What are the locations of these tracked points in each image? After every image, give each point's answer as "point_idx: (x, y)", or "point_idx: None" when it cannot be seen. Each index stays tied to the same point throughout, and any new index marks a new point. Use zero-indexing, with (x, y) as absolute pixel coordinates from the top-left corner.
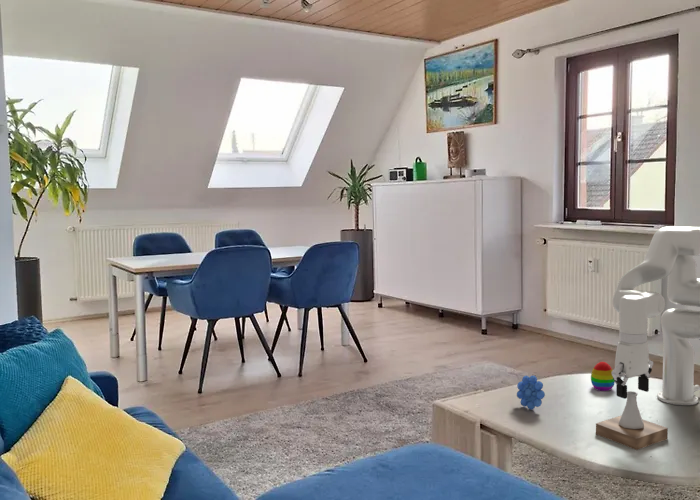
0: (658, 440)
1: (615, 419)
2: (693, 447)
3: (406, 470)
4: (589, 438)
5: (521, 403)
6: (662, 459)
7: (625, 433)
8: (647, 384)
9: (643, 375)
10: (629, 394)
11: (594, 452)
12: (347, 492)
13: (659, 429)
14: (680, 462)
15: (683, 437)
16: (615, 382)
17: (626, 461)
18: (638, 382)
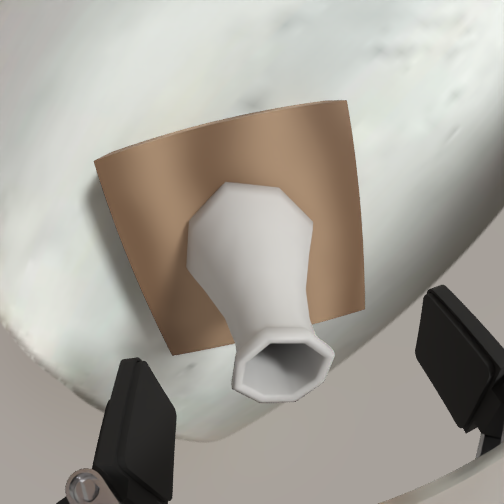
0: None
1: (229, 143)
2: (356, 348)
3: None
4: (64, 188)
5: None
6: (209, 386)
7: (158, 308)
8: (444, 398)
9: (496, 422)
10: (236, 390)
11: (37, 297)
12: None
13: (326, 313)
14: (241, 404)
15: (400, 286)
16: (71, 483)
17: (103, 368)
18: (459, 334)
